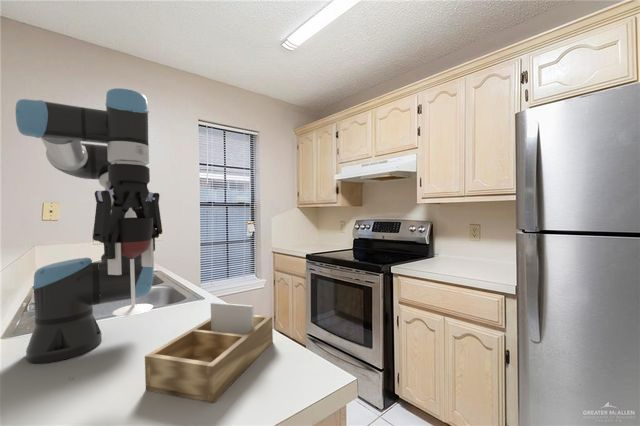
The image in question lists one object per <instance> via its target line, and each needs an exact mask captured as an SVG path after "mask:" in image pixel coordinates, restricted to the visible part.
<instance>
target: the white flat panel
mask: <svg viewBox="0 0 640 426" xmlns="http://www.w3.org/2000/svg"><path fill="white" fill-rule="evenodd" d="M254 315H255V313H254V305H249V304H240V303H239V304H238V303H236V304H235V303H228V302H227V303H224V302H213V301H212V302H210V318H211V331H214V332H222V333H231V334H239V335H246V334H247V333H248V332H249V331H251V330H252V329H253V328H254Z"/></svg>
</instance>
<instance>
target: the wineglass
mask: <svg viewBox="0 0 640 426" xmlns="http://www.w3.org/2000/svg"><path fill="white" fill-rule="evenodd" d="M119 230H120V232H119V235H118V238H117V241H116V242H115V243H121V255H123V256H126V257H128V258H129V259H130V276H131V299H130V302H131V303H130V304H129V305H126V306H122V307H120V308H119V307H118V308H117V309H115V310H113V311H112V315H113V316H118V317H122V316H123V317H125V316H126V317H127V316H133V315H139V314H143V313H146V312H149V311H150V310H152V309H153V308H154V305H153V304H152V303H151V304H150V303H137V304H136V298H135V273H134V258H135V257H137V256H138V255H140V254H142V253H143V252H145V251H146V250H147V249H148V248H149V246H150V243H151V239H152V232H153V217H150V218H139V219H137V217H134V218H124V219H119Z"/></svg>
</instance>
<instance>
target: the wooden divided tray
mask: <svg viewBox="0 0 640 426" xmlns="http://www.w3.org/2000/svg"><path fill="white" fill-rule="evenodd" d="M273 333H274V332H273V316H270V315H259V314H254V328H253V329H252V330H251V331H249V332H248V333H247V334H246V335H239V334H231V333H222V332H214V331H211V317H210V318H208V319H206V320H205V321H203V322H202V323H200V324H199V323H198V325H196V326H194V327H192V328H190V329H189V330H187V331H186V332H184V333H182V334H180V335H179V336H177V337H175V338H173V339H172V340H169V341H168V342H167V343H164V344H163V345H161V346H160V347H157V348H156V349H154V350H153V351H151V352H150V353H148V354H145V355H144V375H145V380H144V381H145V391H149V392H155V393H159V394H164V395H168V396H169V395H170V396H175V397H179V398H185V399H190V400H194V401H200V402H203V403H209V404H214V403H215V402H217V401H218V399H219V398H220V397H221V396H222V395H223V394H224V393H225V392H227V390H228V389H229V388H230V387H231V386H232V385H233V384H234V383H235V382H236V381H237V380H238V379H239V378H240V377H241V375H242V374H243V373H244V372H245V371H246V370H247V369H248V368H249V367H250V366H251V365H252V364H253V363H254V362H255V361H257V359H258V358H259V357H260V356H261V355H262V354H263V353H264V352H265V351H266V350H267V348H269V347H270V345H271V344H272V343H273V342H274V337H273V335H274V334H273Z"/></svg>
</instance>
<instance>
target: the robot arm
mask: <svg viewBox="0 0 640 426" xmlns="http://www.w3.org/2000/svg"><path fill="white" fill-rule="evenodd" d="M105 96H106V97H105V98H106V99H105V109H106V110H103V109H98V108H97V109H96V108H89V107H83V106H76V105H70V104H65V103H63V104H62V103H59V102H58V103H57V102H50V101H44V100H41V99H39V100H36V99H26V98H22V99H21V98H20V99H18V101H17V102H16V105H15V122H16V127H17V130H18V132H19V134H20V135H23V136H26V137H34V138H35V139H36V138H37V139H40V140H41V141H42V144H43V145H44V147H45V148H46V150H45V155H46V158H47V160H48V162H49V163H50V165H52V167H54V168H55V169H56V170H58V171H60V172H62V173H64V174H66V175H69V176H72V177H75V178H79V179H85V180H98V183H99V185H100V186H101V187H103V188H104V190H96V191H94V198H95V202H96V207H95V216H94V223H93V231H92V232H93V234H92V241H96V242H99V243H100V244H101V243H102V244H103V251H104V253H103V254H102V255H101V257H100V261H97V262H93V260H92V258H90V257H82V258H81V257H80V258H73V259H68V260H63V261H58V262H55V263H51V264H48V265H47V264H46V265H44V266H42V267H39V268H37V270H36V271H35V272H34V275H33V286H32V290H33V297H34V302H33V303H34V328H33V331H32V333H31V336H30V339H29V342H28V345H27V347H26V350H25V353H26V354H25V355H26V361H27V362H29V363H33V364H42V363H43V364H45V363H46V364H47V363H53V362H58V361H64V360H66V359H71V358H73V357H77V356H80V355H83V354H85V353H87V352H89V351H92V350H93V349H94V348H97V347H98V346H99V345H100V344H101V343H102V341H103V340H102V337H103V336H102V331H101V329H100V326H99V325H98V324H99V323H98V322H97V320H96V318H95V315H94V306H96V305H102V304H108V303H115V302H122V301H128V300H131V276H130V259H129V258H128V257H126V256H123V255H121V243H115V242H116V241H117V238H118V235H119V232H120V230H119V219H124V218H134V217H137V219H139V218H150V217H153V232H152V239H151V243H150V246H149V248H148V249H147V250H146V251H145V252H143V253H142V254H140V255H138V256H137V257H135V258H134V273H135V299H137V298H142V297H146V296H148V295H149V294H150V293H151V290H152V286H153V279H154V269H155V266H154V265H155V263H154V262H155V258H154V256H155V255H154V252H155V251H156V239H158V238H159V237H160V235H162V234H163V225H162V219H161V212H160V211H161V210H160V206H159V205H160V204H159V202H160V193H159V192H152V191H150V190H149V188H148V184H149V183H150V182H151V181H150V180H151V179H150V176H151V175H150V171H151V170H150V167H149V166H147V165H148V164H149V165H150V146H149V112H150V111H149V108H148V105H149V104H148V100H147V97H146V96H145V95H144V94H143V93H140V92H138V91H136V90H132V89H128V88H111V89H109V90H108V91H107V92H106V95H105ZM84 142H86V143H84ZM92 143H95V144H92ZM96 143H97V144H96ZM103 144H105V145H103ZM106 144H107V145H106Z"/></svg>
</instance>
